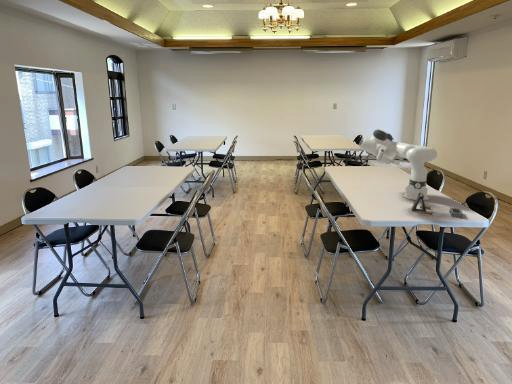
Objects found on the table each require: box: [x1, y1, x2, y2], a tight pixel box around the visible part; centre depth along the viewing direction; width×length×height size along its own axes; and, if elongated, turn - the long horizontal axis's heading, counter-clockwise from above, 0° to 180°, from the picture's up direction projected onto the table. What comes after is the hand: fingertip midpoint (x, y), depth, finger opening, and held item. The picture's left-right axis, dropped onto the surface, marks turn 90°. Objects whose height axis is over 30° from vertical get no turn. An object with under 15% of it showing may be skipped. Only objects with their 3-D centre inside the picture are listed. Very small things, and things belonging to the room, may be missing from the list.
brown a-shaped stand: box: [411, 193, 427, 213], centre depth 259 cm, size 9×6×12 cm, turn 73°
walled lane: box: [419, 205, 433, 216], centre depth 259 cm, size 16×7×2 cm, turn 160°
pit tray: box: [448, 207, 464, 219], centre depth 253 cm, size 12×6×3 cm, turn 160°
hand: (401, 161), depth 256 cm, fingers open, 8 cm apart
